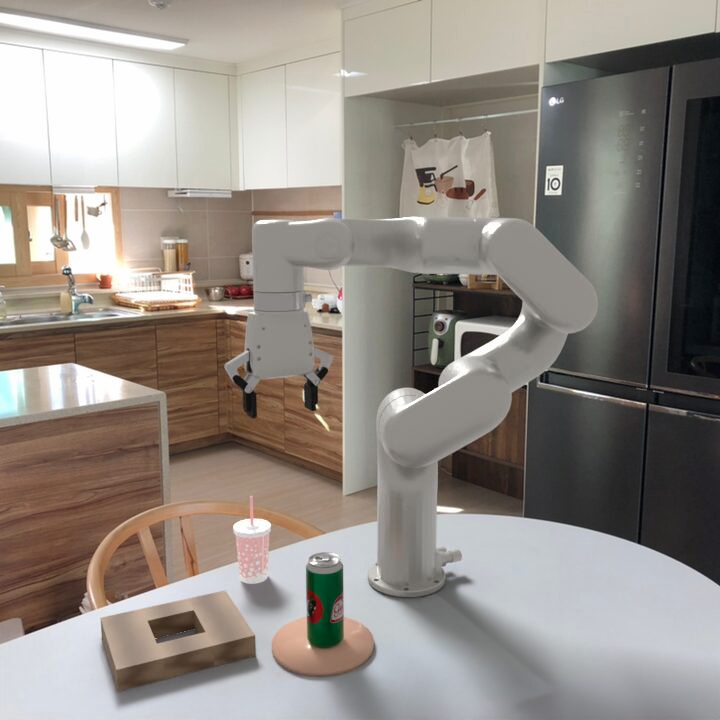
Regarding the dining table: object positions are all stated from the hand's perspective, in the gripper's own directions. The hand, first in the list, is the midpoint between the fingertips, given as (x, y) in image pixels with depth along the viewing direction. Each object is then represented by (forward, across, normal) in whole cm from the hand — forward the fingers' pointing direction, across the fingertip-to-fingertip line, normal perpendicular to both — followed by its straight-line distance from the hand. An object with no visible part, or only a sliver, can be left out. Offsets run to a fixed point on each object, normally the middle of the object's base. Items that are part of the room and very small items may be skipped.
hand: (281, 412), depth 119 cm
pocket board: (+28, +20, +11) cm, 36 cm away
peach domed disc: (+28, +2, +20) cm, 35 cm away
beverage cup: (+28, +4, -4) cm, 29 cm away
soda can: (+28, +2, +20) cm, 34 cm away
